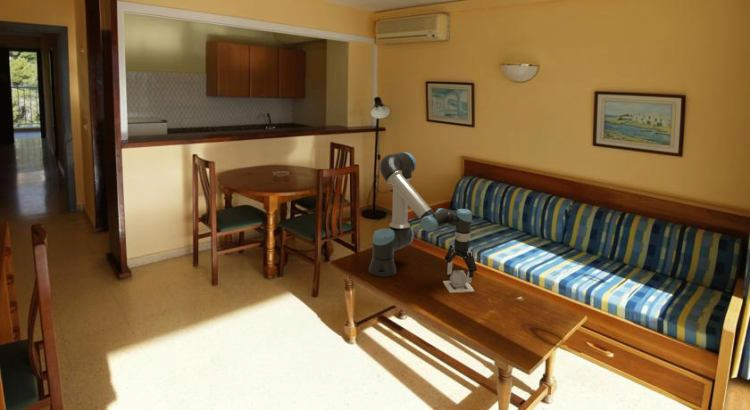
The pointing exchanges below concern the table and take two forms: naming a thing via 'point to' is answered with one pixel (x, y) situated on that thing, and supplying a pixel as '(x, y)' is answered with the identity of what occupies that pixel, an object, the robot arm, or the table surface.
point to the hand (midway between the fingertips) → (459, 278)
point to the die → (458, 278)
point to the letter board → (458, 289)
